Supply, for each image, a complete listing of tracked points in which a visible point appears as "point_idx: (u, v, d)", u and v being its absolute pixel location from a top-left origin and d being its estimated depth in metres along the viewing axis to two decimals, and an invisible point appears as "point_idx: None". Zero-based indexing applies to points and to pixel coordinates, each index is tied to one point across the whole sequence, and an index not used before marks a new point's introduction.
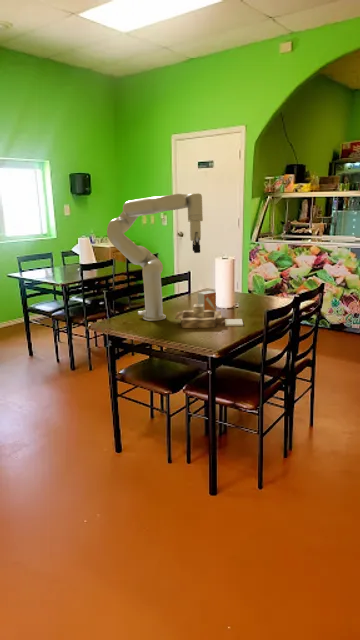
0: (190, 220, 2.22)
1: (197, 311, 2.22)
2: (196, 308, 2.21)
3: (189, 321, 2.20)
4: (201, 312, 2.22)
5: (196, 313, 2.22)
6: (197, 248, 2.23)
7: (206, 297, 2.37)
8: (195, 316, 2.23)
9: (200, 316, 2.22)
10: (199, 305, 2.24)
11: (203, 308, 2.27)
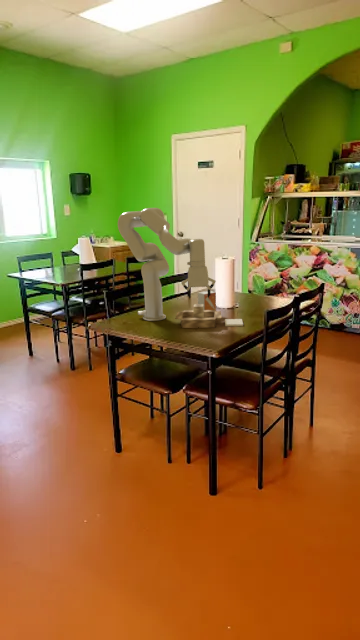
0: (202, 266, 2.16)
1: (197, 311, 2.22)
2: (196, 308, 2.21)
3: (189, 321, 2.20)
4: (201, 312, 2.22)
5: (196, 313, 2.22)
6: None
7: (206, 297, 2.37)
8: (195, 316, 2.23)
9: (200, 316, 2.22)
10: (199, 305, 2.24)
11: (203, 308, 2.27)
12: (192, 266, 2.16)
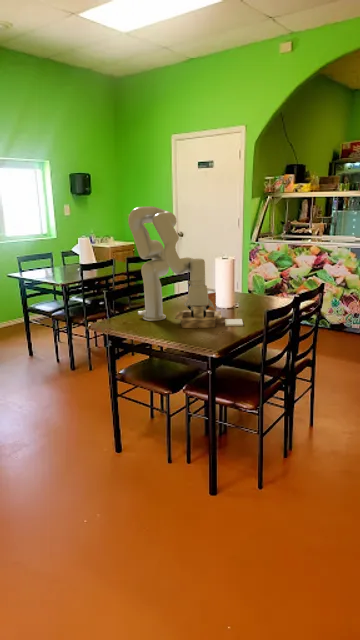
0: (202, 285, 2.18)
1: (197, 310, 2.22)
2: (196, 308, 2.21)
3: (189, 321, 2.20)
4: (201, 312, 2.22)
5: (196, 313, 2.22)
6: None
7: None
8: (195, 316, 2.23)
9: (200, 316, 2.22)
10: None
11: (203, 308, 2.27)
12: (192, 285, 2.19)
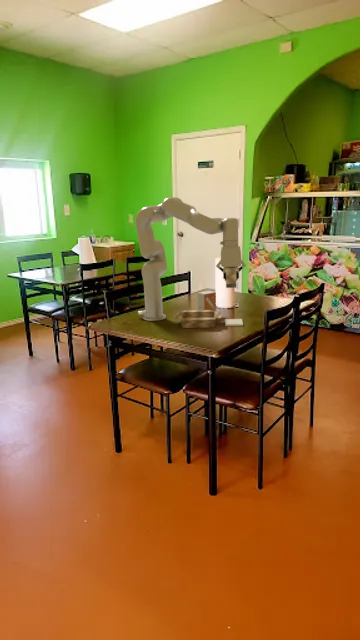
0: (236, 245, 2.12)
1: (229, 272, 2.15)
2: (229, 269, 2.15)
3: (189, 321, 2.20)
4: (234, 273, 2.15)
5: (229, 275, 2.16)
6: (238, 275, 2.19)
7: (206, 297, 2.37)
8: (228, 278, 2.16)
9: (233, 278, 2.16)
10: None
11: None
12: (225, 245, 2.12)
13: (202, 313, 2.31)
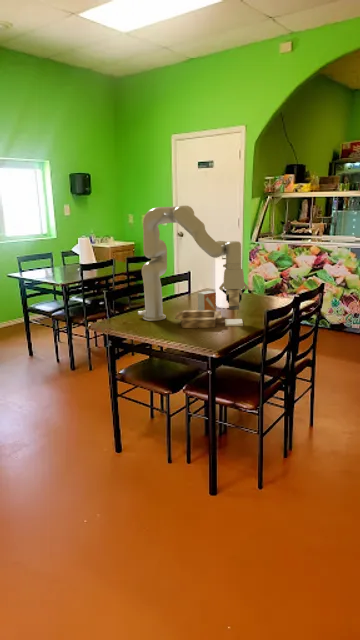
0: (238, 268, 2.15)
1: (232, 294, 2.18)
2: (232, 292, 2.18)
3: (189, 321, 2.20)
4: (237, 296, 2.18)
5: (232, 297, 2.19)
6: None
7: (206, 297, 2.37)
8: (231, 300, 2.19)
9: (236, 300, 2.19)
10: None
11: None
12: (228, 268, 2.15)
13: (202, 313, 2.31)
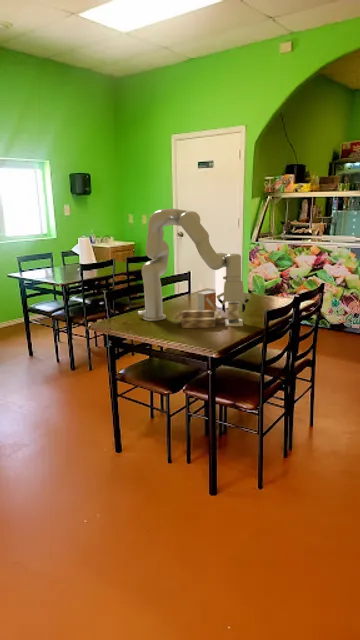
0: (238, 281, 2.16)
1: (232, 308, 2.20)
2: (231, 305, 2.20)
3: (189, 321, 2.20)
4: (236, 309, 2.20)
5: (231, 311, 2.20)
6: None
7: (206, 297, 2.37)
8: (230, 313, 2.21)
9: (235, 313, 2.21)
10: (234, 302, 2.22)
11: None
12: (228, 281, 2.17)
13: (202, 313, 2.31)
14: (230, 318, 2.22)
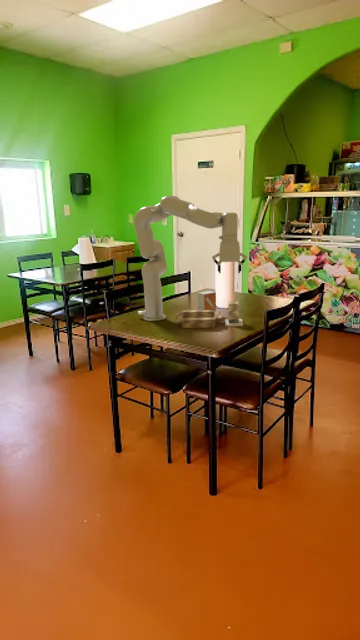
0: (235, 240, 2.12)
1: (232, 308, 2.20)
2: (231, 305, 2.20)
3: (189, 321, 2.20)
4: (236, 309, 2.20)
5: (231, 311, 2.20)
6: None
7: (206, 297, 2.37)
8: (230, 313, 2.21)
9: (235, 313, 2.21)
10: (234, 302, 2.22)
11: None
12: (224, 240, 2.12)
13: (202, 313, 2.31)
14: (230, 318, 2.22)
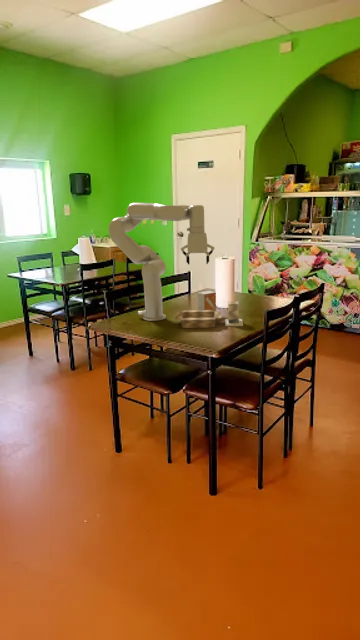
0: (201, 232, 2.18)
1: (232, 308, 2.20)
2: (231, 305, 2.20)
3: (189, 321, 2.20)
4: (236, 309, 2.20)
5: (231, 311, 2.20)
6: None
7: (206, 297, 2.37)
8: (230, 313, 2.21)
9: (235, 313, 2.21)
10: (234, 302, 2.22)
11: None
12: (191, 232, 2.19)
13: (202, 313, 2.31)
14: (230, 318, 2.22)
